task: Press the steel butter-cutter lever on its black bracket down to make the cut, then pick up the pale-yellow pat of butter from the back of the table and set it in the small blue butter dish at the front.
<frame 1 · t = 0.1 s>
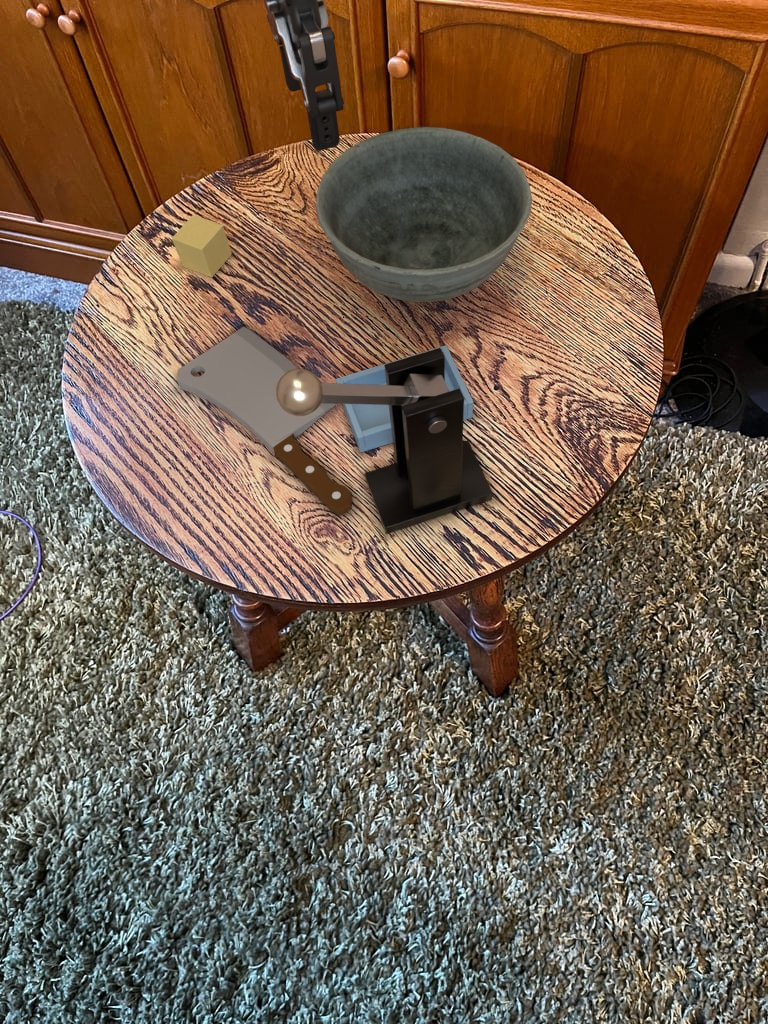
hand: (313, 116, 66), 19 cm above the table, tool pointing down, fingers open, 8 cm apart
cutter lever: (363, 394, 55), point 16 cm above the table, hinge at 28.0°
kitchen cleaver: (282, 421, 74), on the table
butter dish: (404, 405, 74), on the table
butter pat: (207, 260, 85), on the table
cutter: (428, 489, 69), on the table
bowl: (425, 270, 82), on the table
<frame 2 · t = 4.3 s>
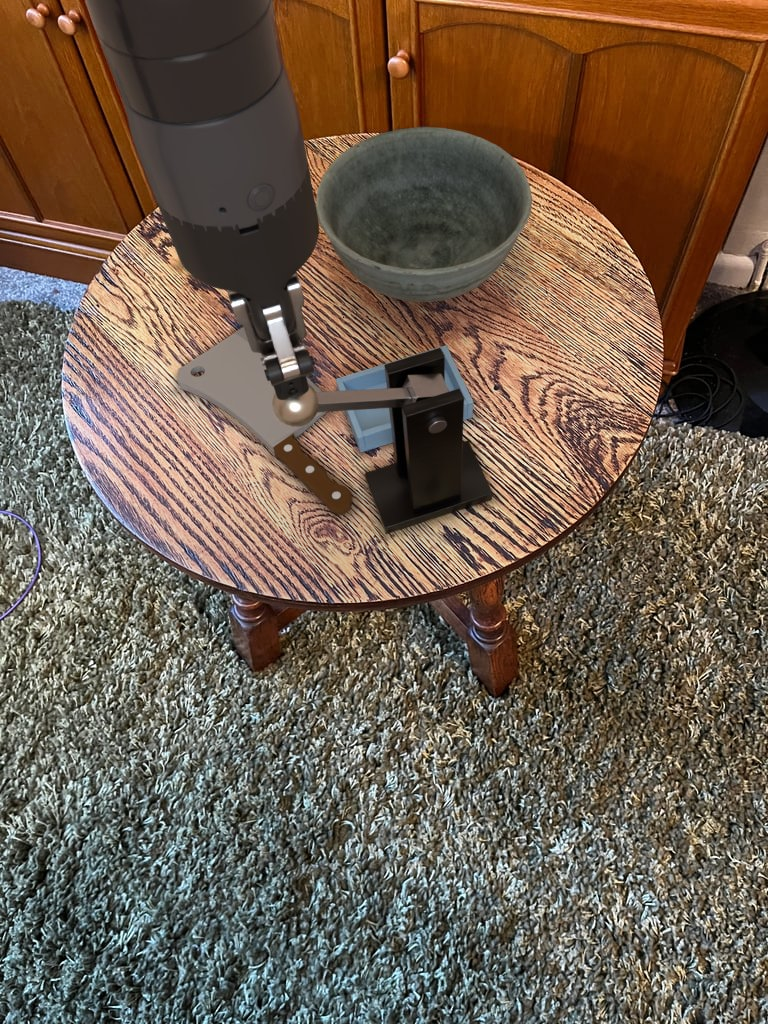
hand: (291, 388, 52), 19 cm above the table, tool pointing down, fingers closed
cutter lever: (361, 399, 55), point 16 cm above the table, hinge at 21.5°
everything else where it was.
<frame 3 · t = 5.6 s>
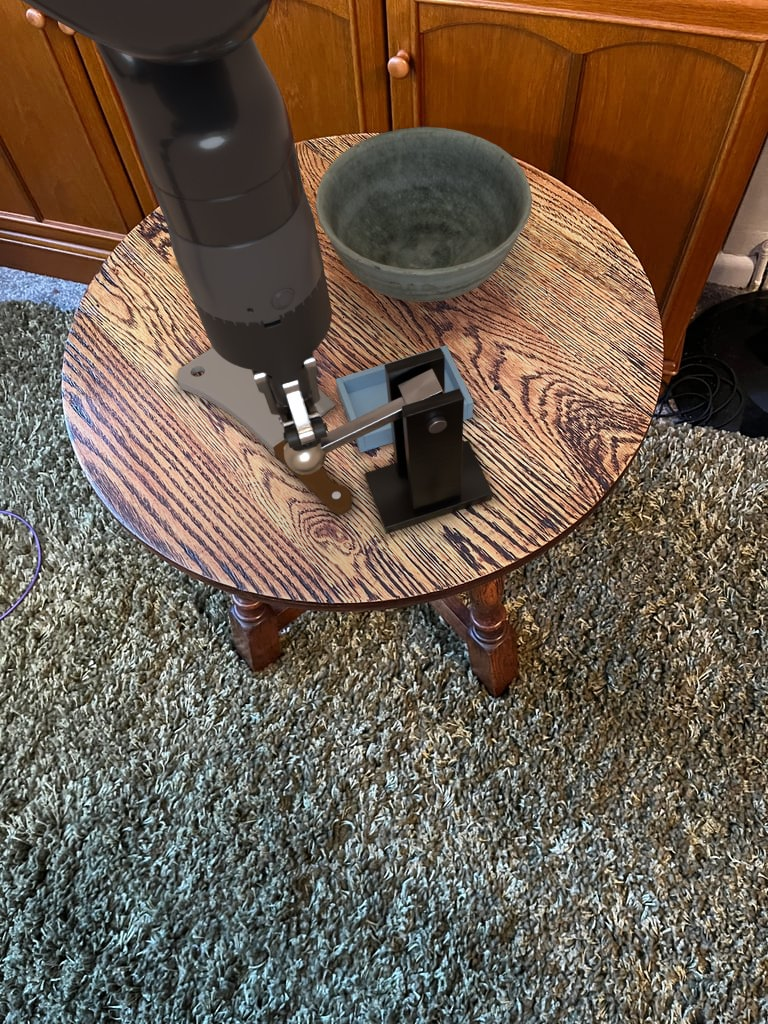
hand: (305, 440, 57), 13 cm above the table, tool pointing down, fingers closed
cutter lever: (362, 425, 58), point 13 cm above the table, hinge at -14.9°, touching gripper
everything else where it was.
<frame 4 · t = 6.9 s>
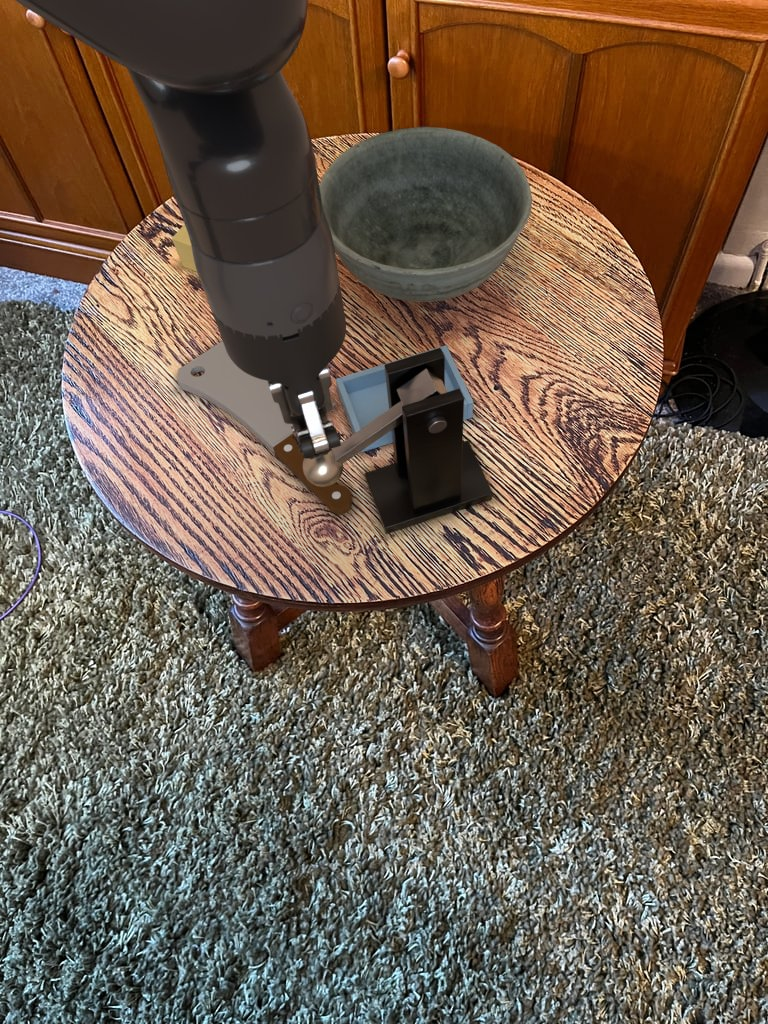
hand: (315, 448, 58), 12 cm above the table, tool pointing down, fingers closed
cutter lever: (371, 433, 59), point 11 cm above the table, hinge at -30.5°
everything else where it was.
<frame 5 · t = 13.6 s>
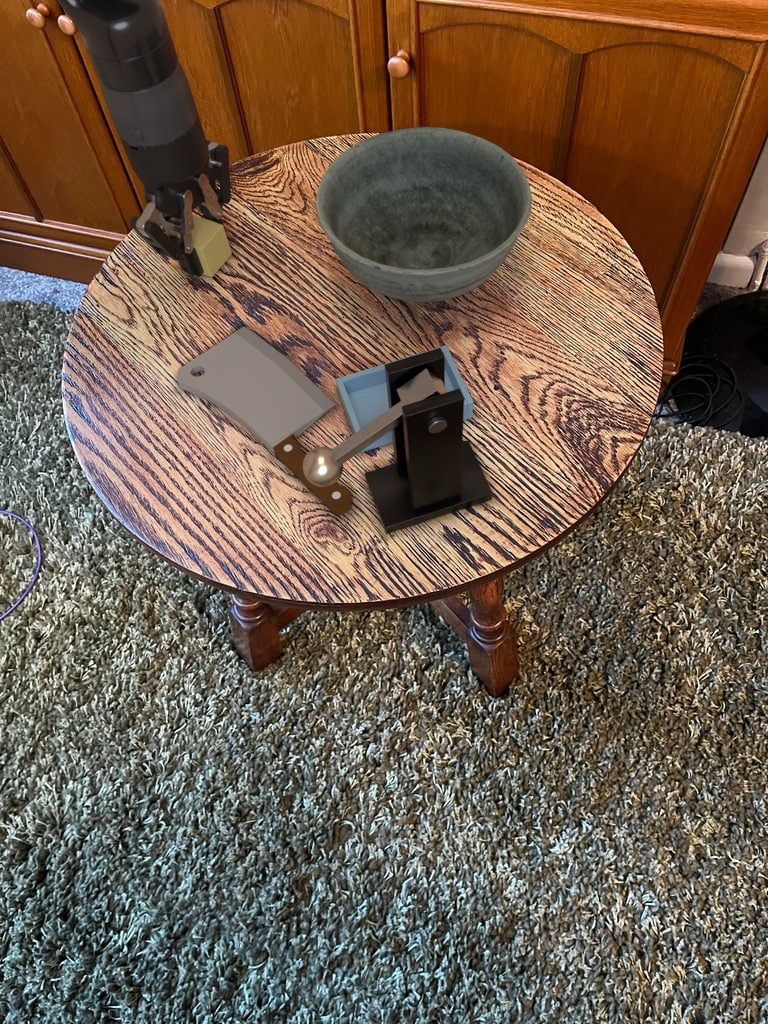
hand: (206, 258, 85), 0 cm above the table, tool pointing down, fingers closed on butter pat, 4 cm apart
butter pat: (207, 260, 85), on the table, touching gripper
everything else where it was.
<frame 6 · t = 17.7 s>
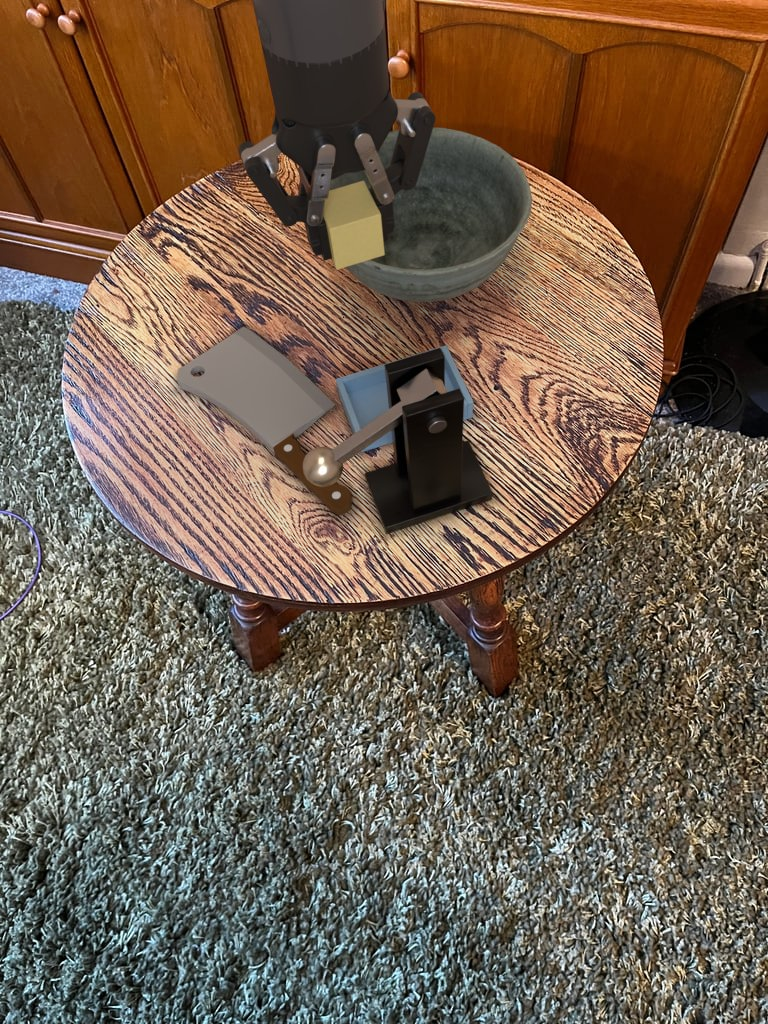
hand: (352, 243, 60), 17 cm above the table, tool pointing down, fingers closed on butter pat, 4 cm apart
butter pat: (352, 245, 61), point 17 cm above the table, touching gripper
everything else where it was.
when the fingers open (1 cm above the table, at t = 22.9 s): butter pat stays where it is, resting on butter dish.
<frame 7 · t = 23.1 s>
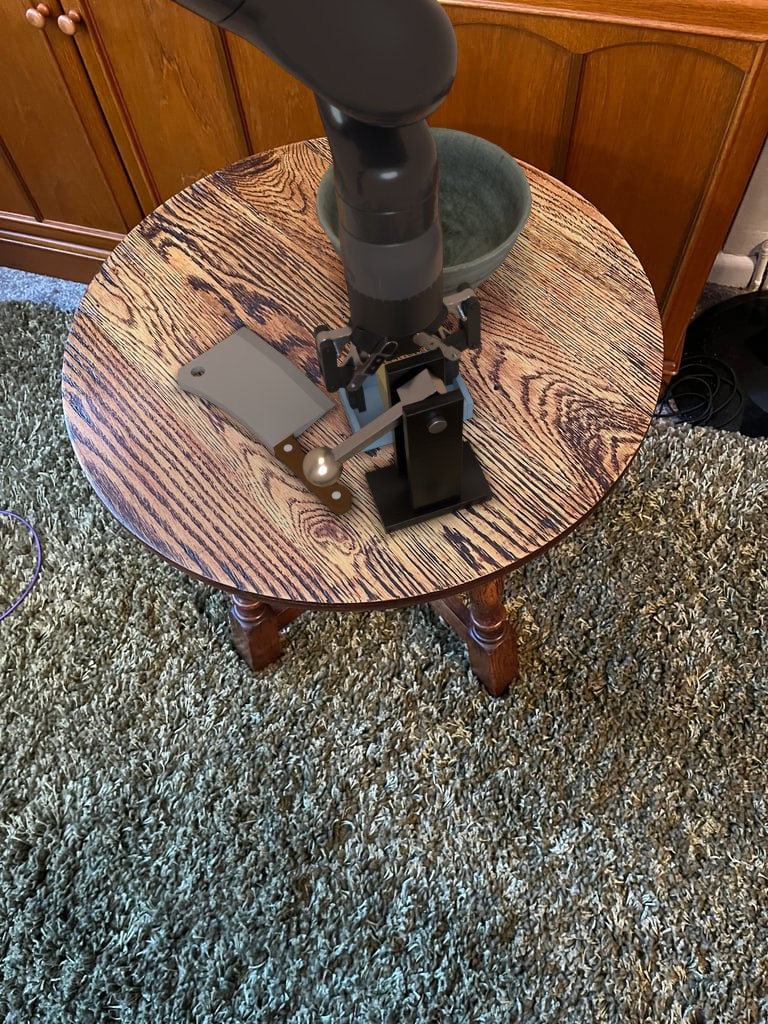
hand: (402, 391, 72), 2 cm above the table, tool pointing down, fingers open, 8 cm apart
butter pat: (404, 402, 73), resting on butter dish
everything else where it was.
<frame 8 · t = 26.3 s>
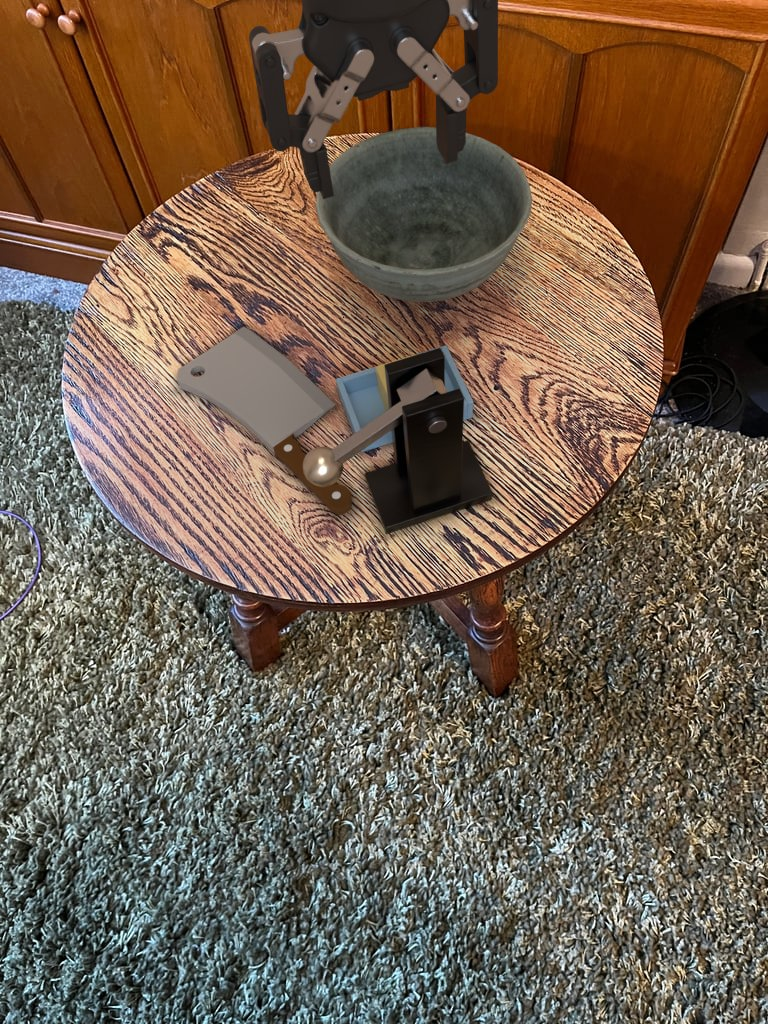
hand: (385, 173, 51), 26 cm above the table, tool pointing down, fingers open, 8 cm apart
nothing on the table moved.
at the end: cutter lever at -30° (first picture: +28°); butter pat inside the target area in the butter dish (0.1 cm from its centre), point 0.5 cm above the butter dish's base; the gripper is holding nothing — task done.
